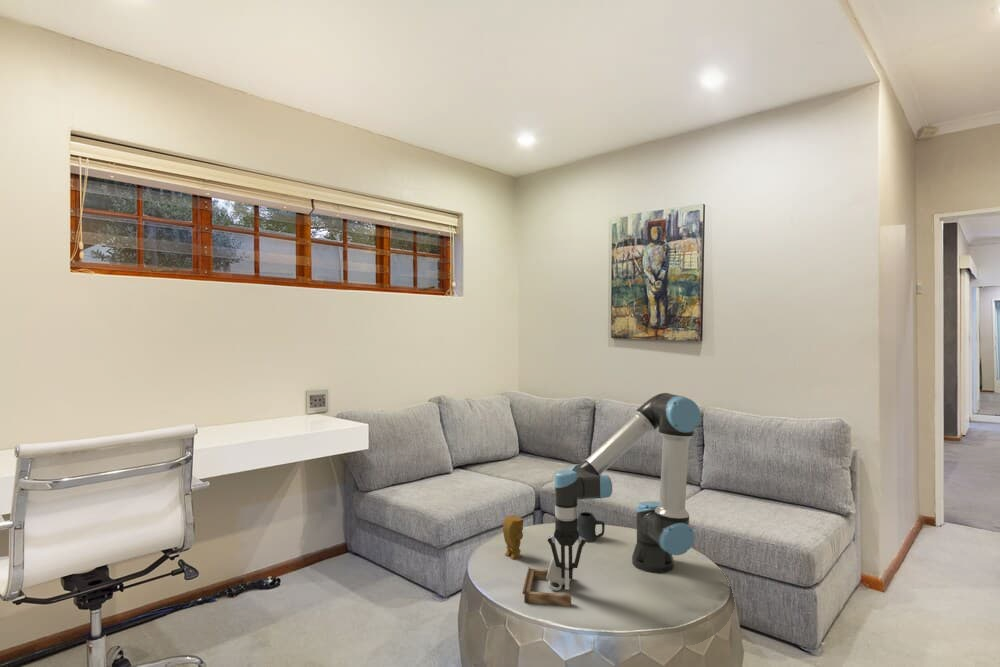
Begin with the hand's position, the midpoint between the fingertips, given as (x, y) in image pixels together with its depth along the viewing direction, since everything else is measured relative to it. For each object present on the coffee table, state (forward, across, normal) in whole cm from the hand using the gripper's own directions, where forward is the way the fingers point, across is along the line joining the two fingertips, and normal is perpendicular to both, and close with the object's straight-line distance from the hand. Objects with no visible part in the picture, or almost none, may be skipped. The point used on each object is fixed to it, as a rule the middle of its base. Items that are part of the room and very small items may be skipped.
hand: (567, 587), depth 184 cm
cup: (-1, -1, -4) cm, 4 cm away
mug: (+2, -8, -47) cm, 48 cm away
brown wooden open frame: (+2, +6, 0) cm, 6 cm away
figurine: (+1, +22, -26) cm, 34 cm away
